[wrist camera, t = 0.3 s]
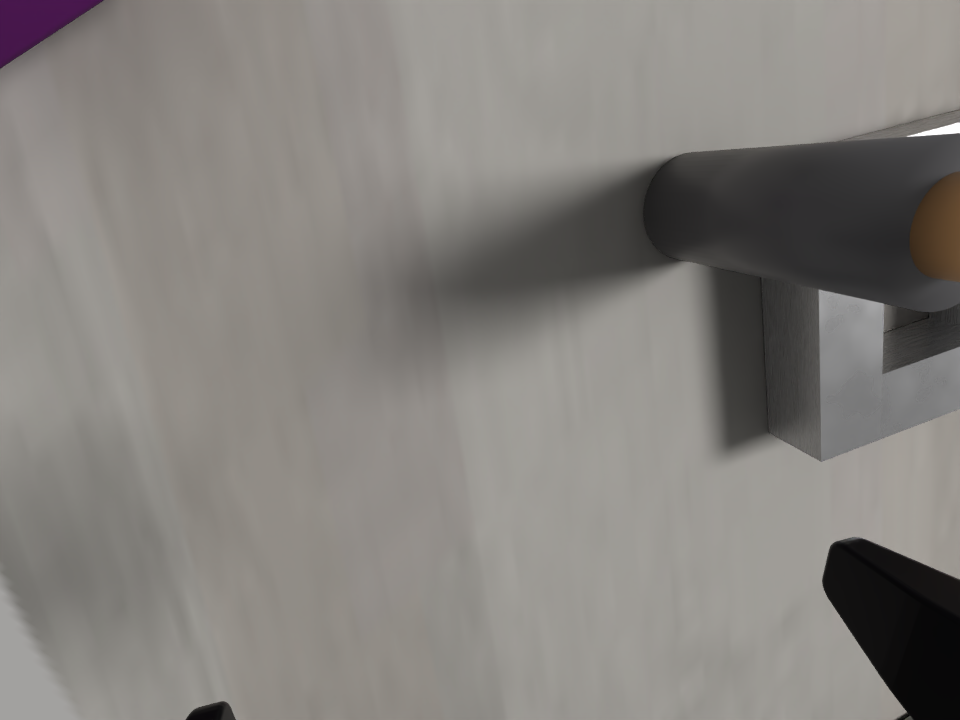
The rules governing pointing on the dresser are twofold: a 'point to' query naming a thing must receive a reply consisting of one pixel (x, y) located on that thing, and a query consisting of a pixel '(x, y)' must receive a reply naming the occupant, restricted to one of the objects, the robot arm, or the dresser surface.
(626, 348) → the dresser surface
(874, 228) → the plug
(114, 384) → the dresser surface
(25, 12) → the perfume bottle
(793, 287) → the socket plate
